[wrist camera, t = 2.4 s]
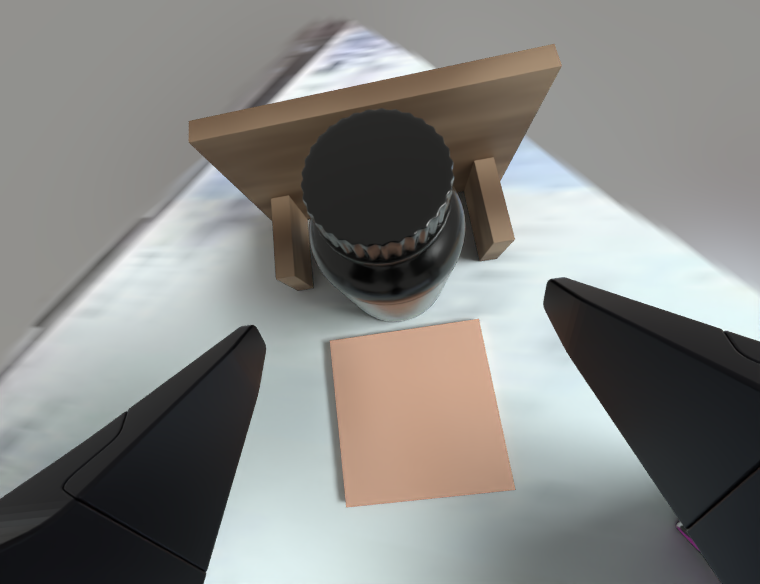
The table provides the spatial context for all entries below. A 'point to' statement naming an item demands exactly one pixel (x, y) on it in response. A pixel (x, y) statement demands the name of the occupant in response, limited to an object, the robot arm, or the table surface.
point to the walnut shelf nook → (405, 93)
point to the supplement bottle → (384, 212)
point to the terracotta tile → (418, 415)
